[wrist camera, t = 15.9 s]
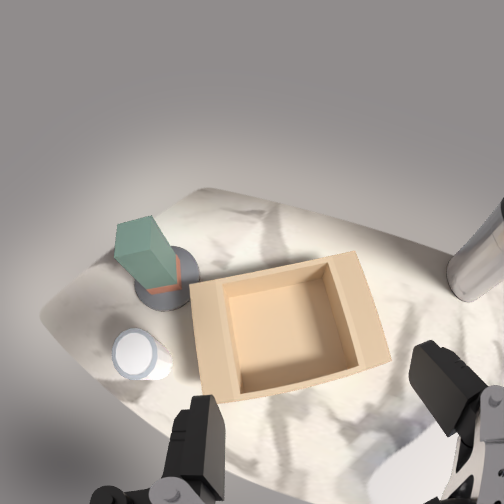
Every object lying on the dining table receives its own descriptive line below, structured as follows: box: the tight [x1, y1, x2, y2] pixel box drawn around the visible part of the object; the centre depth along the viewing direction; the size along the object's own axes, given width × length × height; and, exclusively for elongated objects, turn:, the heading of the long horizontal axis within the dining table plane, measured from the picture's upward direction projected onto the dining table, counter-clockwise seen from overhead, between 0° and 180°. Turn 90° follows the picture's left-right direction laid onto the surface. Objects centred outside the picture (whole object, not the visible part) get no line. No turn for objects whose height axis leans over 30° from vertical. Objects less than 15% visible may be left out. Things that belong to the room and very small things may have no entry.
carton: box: [189, 251, 392, 404], centre depth 34 cm, size 23×16×6 cm
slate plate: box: [135, 246, 200, 311], centre depth 42 cm, size 11×11×1 cm
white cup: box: [112, 328, 173, 380], centre depth 33 cm, size 7×7×7 cm
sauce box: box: [114, 215, 182, 295], centre depth 36 cm, size 5×5×12 cm
